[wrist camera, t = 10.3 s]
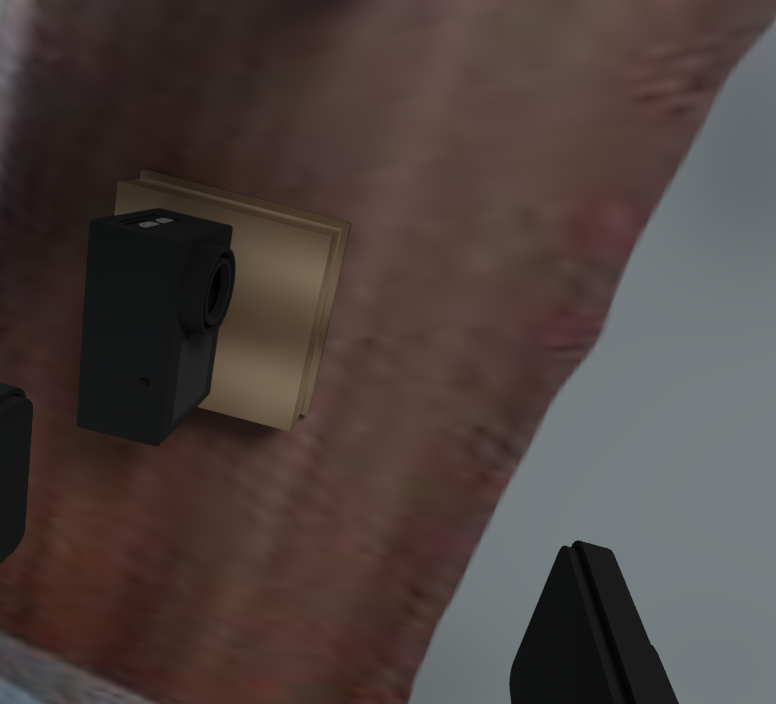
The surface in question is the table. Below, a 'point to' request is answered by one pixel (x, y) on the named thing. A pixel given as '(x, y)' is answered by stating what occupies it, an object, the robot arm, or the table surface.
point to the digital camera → (151, 320)
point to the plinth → (260, 294)
